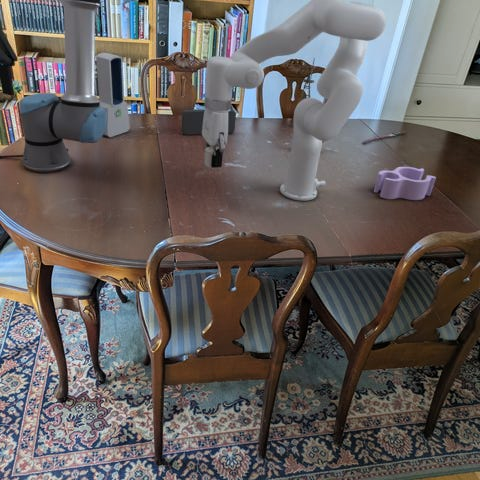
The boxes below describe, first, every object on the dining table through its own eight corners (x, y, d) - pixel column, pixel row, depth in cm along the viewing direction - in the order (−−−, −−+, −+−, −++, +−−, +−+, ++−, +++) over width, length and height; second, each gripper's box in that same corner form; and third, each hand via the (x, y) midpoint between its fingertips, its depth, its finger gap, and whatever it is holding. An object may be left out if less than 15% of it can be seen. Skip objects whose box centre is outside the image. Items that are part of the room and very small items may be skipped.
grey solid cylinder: (218, 160, 145) (219, 146, 142) (223, 167, 141) (224, 152, 138) (202, 161, 143) (203, 146, 141) (207, 168, 139) (208, 153, 137)
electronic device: (108, 138, 183) (103, 58, 167) (94, 133, 186) (88, 54, 170) (130, 130, 192) (127, 54, 176) (117, 126, 195) (113, 50, 179)
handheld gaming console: (232, 131, 203) (234, 108, 197) (234, 133, 201) (236, 110, 195) (181, 132, 196) (181, 109, 190) (182, 135, 194) (183, 111, 188)
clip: (387, 202, 158) (392, 184, 155) (367, 186, 168) (372, 168, 164) (434, 198, 165) (441, 180, 161) (413, 182, 174) (419, 165, 171)
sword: (401, 132, 223) (402, 129, 222) (407, 134, 221) (407, 131, 220) (358, 143, 207) (358, 140, 206) (363, 145, 205) (364, 143, 204)
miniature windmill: (308, 129, 214) (320, 61, 198) (290, 126, 215) (300, 58, 199) (310, 123, 222) (321, 57, 206) (292, 120, 223) (302, 54, 207)
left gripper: (-78, 3, 83) (-49, 119, 94) (24, -5, 103) (38, 91, 114) (-109, -3, 85) (-77, 112, 96) (-3, -10, 105) (13, 86, 116)
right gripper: (196, 94, 137) (193, 152, 147) (214, 113, 124) (210, 175, 134) (220, 94, 140) (215, 151, 150) (240, 113, 127) (234, 174, 137)
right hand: (213, 162), depth 142 cm, fingers closed on grey solid cylinder, 5 cm apart
